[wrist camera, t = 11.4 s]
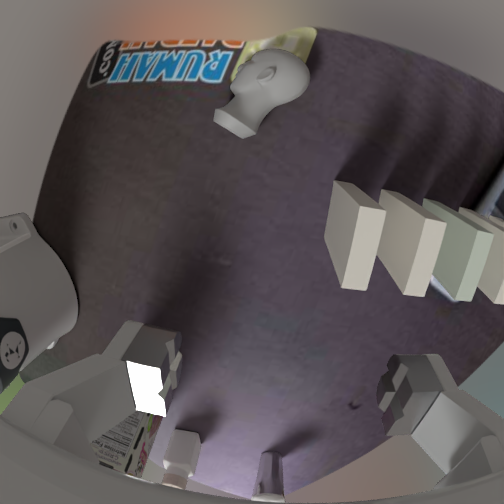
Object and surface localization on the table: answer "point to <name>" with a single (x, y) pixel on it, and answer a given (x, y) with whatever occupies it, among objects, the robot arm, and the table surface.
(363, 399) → the table surface
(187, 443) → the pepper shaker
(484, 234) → the domino
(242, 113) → the smooth white sculpture
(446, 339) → the table surface
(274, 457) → the milkshake
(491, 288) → the domino
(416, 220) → the domino
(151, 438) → the candy bar box
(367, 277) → the domino
